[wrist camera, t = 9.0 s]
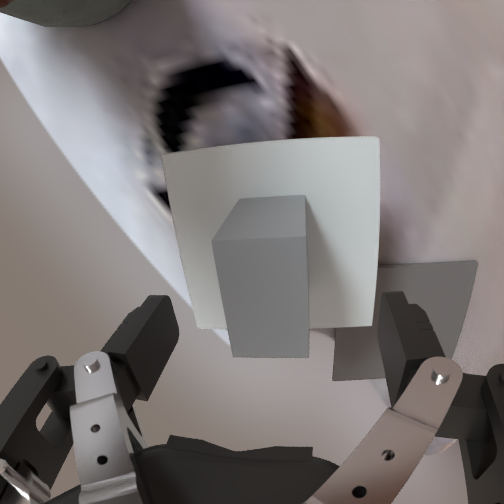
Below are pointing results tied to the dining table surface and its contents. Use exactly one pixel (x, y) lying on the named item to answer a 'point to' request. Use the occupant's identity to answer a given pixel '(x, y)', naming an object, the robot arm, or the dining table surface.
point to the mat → (417, 292)
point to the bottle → (63, 11)
